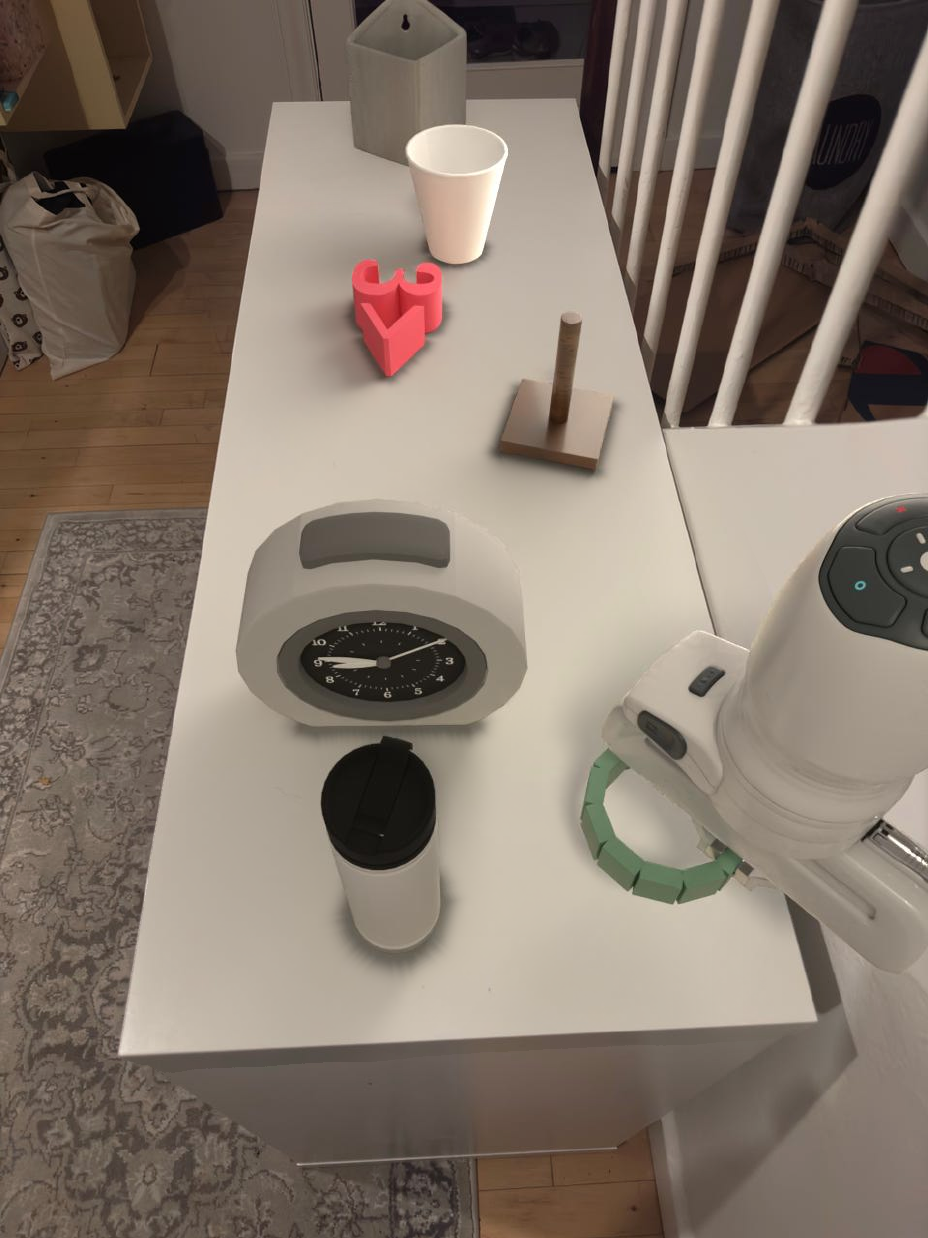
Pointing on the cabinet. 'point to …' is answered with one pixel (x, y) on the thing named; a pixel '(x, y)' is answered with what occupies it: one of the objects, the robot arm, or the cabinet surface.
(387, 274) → the cabinet surface
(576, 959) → the cabinet surface
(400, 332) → the letters
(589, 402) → the stand
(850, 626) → the robot arm
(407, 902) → the travel mug
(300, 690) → the alarm clock
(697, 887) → the ring
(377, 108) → the planter
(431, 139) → the cup
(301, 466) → the cabinet surface
